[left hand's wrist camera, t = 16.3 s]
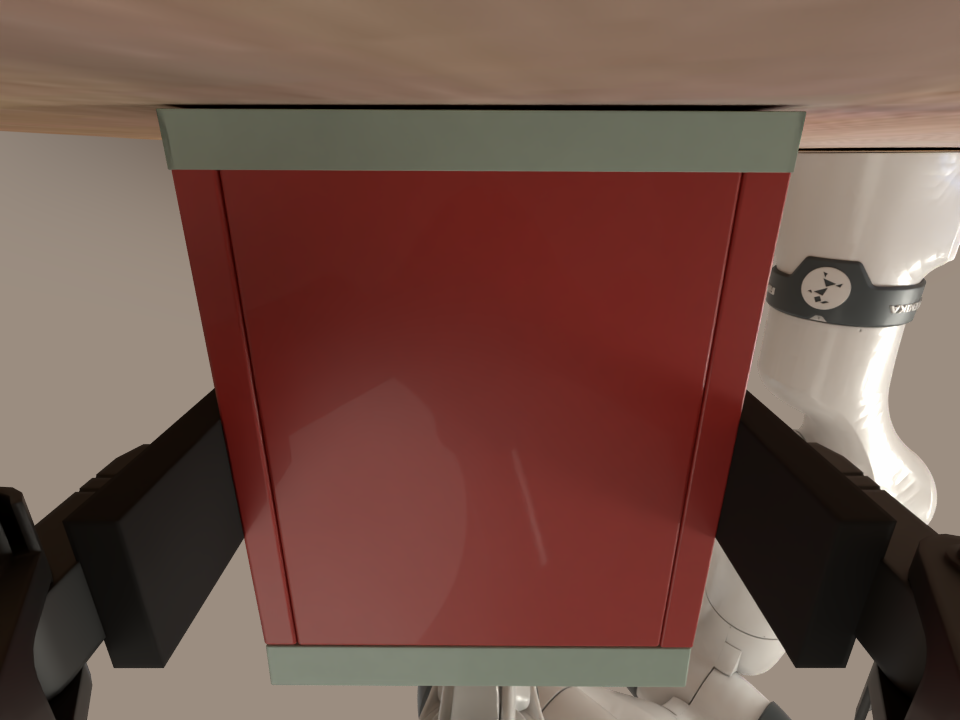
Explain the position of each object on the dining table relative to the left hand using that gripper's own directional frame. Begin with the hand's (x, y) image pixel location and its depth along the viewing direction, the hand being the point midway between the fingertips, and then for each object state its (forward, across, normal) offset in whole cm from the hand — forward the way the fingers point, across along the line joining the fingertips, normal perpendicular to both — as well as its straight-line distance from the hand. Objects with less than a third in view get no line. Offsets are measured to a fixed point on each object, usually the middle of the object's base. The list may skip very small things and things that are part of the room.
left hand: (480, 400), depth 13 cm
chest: (+3, 0, -6) cm, 7 cm away
